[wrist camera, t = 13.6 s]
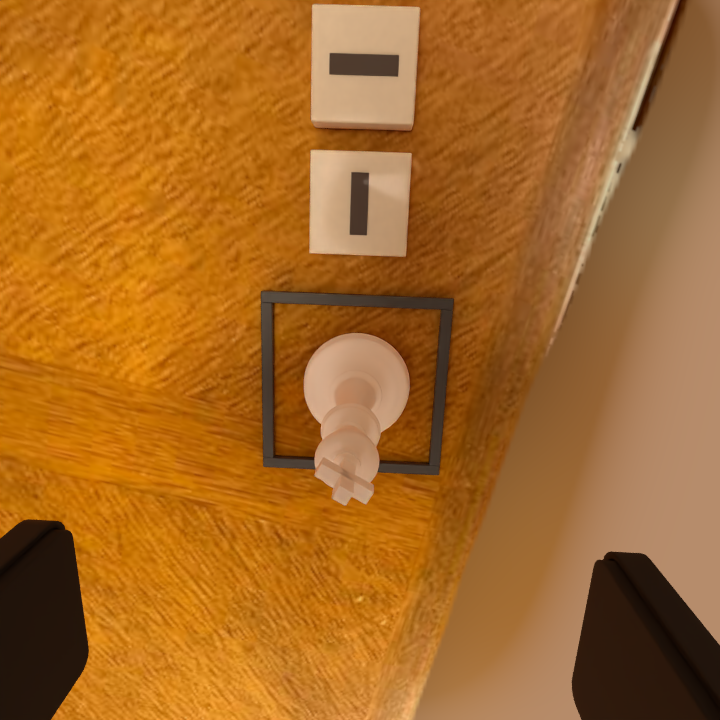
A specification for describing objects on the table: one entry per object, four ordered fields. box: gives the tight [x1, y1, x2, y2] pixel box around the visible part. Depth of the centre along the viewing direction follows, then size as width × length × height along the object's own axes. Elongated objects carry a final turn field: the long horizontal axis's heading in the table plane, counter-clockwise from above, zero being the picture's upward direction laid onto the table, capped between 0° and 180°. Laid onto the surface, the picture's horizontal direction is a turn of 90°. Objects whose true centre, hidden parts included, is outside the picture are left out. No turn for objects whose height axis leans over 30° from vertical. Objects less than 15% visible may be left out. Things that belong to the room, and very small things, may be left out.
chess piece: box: [304, 333, 410, 506], centre depth 18 cm, size 5×5×10 cm
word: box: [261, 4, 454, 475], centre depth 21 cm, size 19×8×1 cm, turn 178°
